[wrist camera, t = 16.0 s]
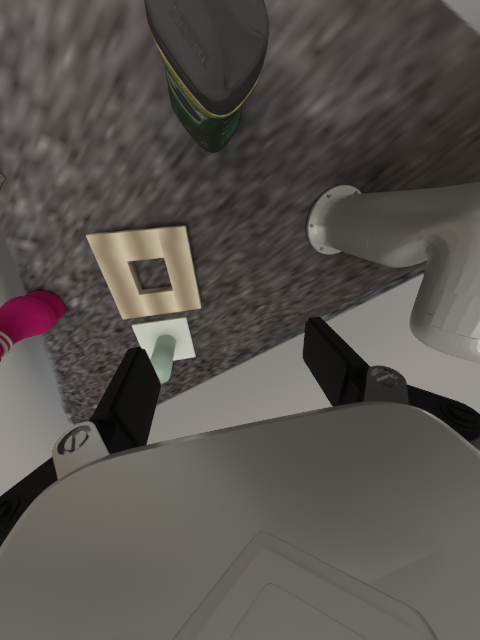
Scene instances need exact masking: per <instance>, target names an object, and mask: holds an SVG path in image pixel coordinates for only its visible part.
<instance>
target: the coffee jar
mask: <svg viewBox="0 0 480 640" xmlns="http://www.w3.org/2000/svg"><path fill="white" fill-rule="evenodd" d="M144 1H145V8H146V15H147V20H148V24H149V28H150V31H151V34H152V36H153V39H154V41H155V44H156V46H157V48H158V51H159V53H160V56H161V58H162V60H163V63H164V67H165V71H166V77H167V82H168V89H169V95H170V100H171V104H172V107H173V110H174V112H175V113H176V115H177V117H178V118H179V120H180V121H181V123H182V124H183V126H184V127H185V128H186V130H187V131H188V132H189V133H190V135H191V136H192V137H193V138H194V139H195V140H196V142H197V143H198V144H199V145H200V146H201V147H203V148H204V149H205V150H207V151H209V152H217V151H219V150H221V149H222V148H223V147H224V146H225V145H226V144H227V143H228V142H229V140H230V139H231V138H232V136H233V135H234V133H235V131H236V129H237V127H238V124H239V120H240V115H241V109H242V104H243V103H244V102H245V101H246V99H247V98H248V96H249V95H250V93H251V92H252V90H253V89H254V87H255V85H256V83H257V81H258V79H259V77H260V75H261V72H262V67H263V63H264V58H265V54H266V50H267V44H268V38H269V21H268V15H267V10H266V6H265V3H264V0H144Z"/></svg>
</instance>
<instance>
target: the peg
mask: <svg viewBox="0 0 480 640" xmlns="http://www.w3.org/2000/svg"><path fill="white" fill-rule="evenodd" d="M175 346H176V340H175V338H174V337H173V336H171V335H161V336H159V337H158V338H157V341H156V344H155V347H154V350H153V353H152V356H151V359H150V361H151V363H152V365H153V367H154V369H155V371H156V374H157V376H158V378H159V380H160V383H165V382H167V381H168V380H169V378H170V374H171V369H172V363H173V357H174V352H175Z"/></svg>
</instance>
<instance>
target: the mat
mask: <svg viewBox="0 0 480 640" xmlns="http://www.w3.org/2000/svg"><path fill="white" fill-rule="evenodd" d="M132 327H133V330H134V332H135V335H136V337H137V339H138V342H139V344H140V346H141V348H142V349H145V350H146V352H147V354H148V356H149V358H150V359H151V356H152V353H153V350H154V347H155V344H156V341H157V338H158V337H159V336H161V335H171V336H173V337H174V338H175V340H176V346H175V352H174V357H173V361H174V360H180V359H186V358H192V357H196V355H195V351H194V347H193V343H192V339H191V334H190V330H189V326H188V322H187V318H186V316H185V317H178V318H171V319H164V320H157V321H150V322H143V323H136V324H132Z"/></svg>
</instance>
